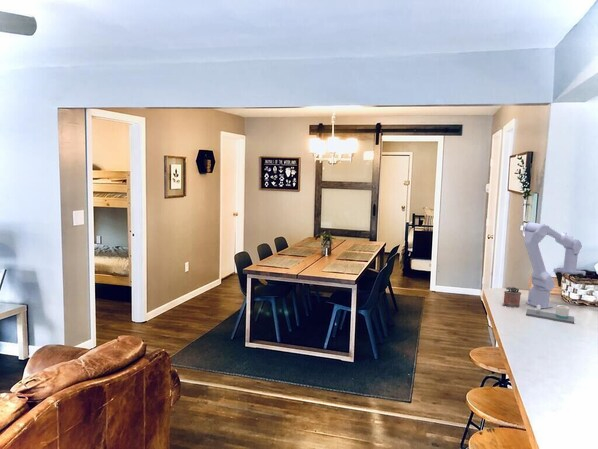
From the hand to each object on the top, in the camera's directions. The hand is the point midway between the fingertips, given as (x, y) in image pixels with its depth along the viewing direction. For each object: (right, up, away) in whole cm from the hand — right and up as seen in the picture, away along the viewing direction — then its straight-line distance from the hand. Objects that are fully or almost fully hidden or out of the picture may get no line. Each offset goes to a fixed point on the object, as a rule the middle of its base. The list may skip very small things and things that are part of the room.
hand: (567, 287), depth 244 cm
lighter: (-32, -9, -6) cm, 34 cm away
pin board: (-21, -11, -22) cm, 32 cm away
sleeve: (-17, -11, -24) cm, 31 cm away
